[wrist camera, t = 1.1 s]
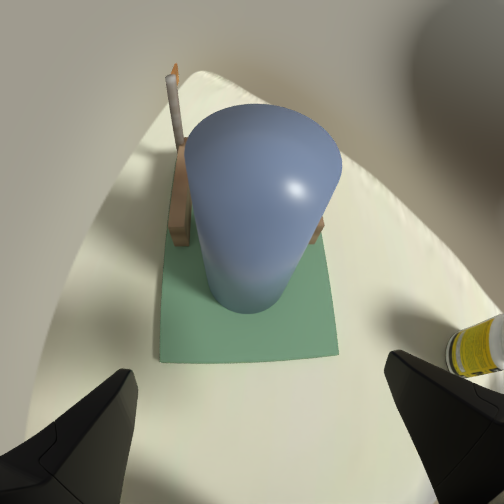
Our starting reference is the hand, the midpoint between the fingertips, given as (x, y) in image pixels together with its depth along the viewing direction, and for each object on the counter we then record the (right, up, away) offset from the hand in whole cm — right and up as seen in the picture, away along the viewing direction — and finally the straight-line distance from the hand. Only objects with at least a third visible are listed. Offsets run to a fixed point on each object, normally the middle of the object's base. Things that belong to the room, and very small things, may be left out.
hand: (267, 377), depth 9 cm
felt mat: (-1, +5, +15) cm, 16 cm away
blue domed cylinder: (-1, +2, +13) cm, 13 cm away
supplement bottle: (+19, -6, +12) cm, 23 cm away
